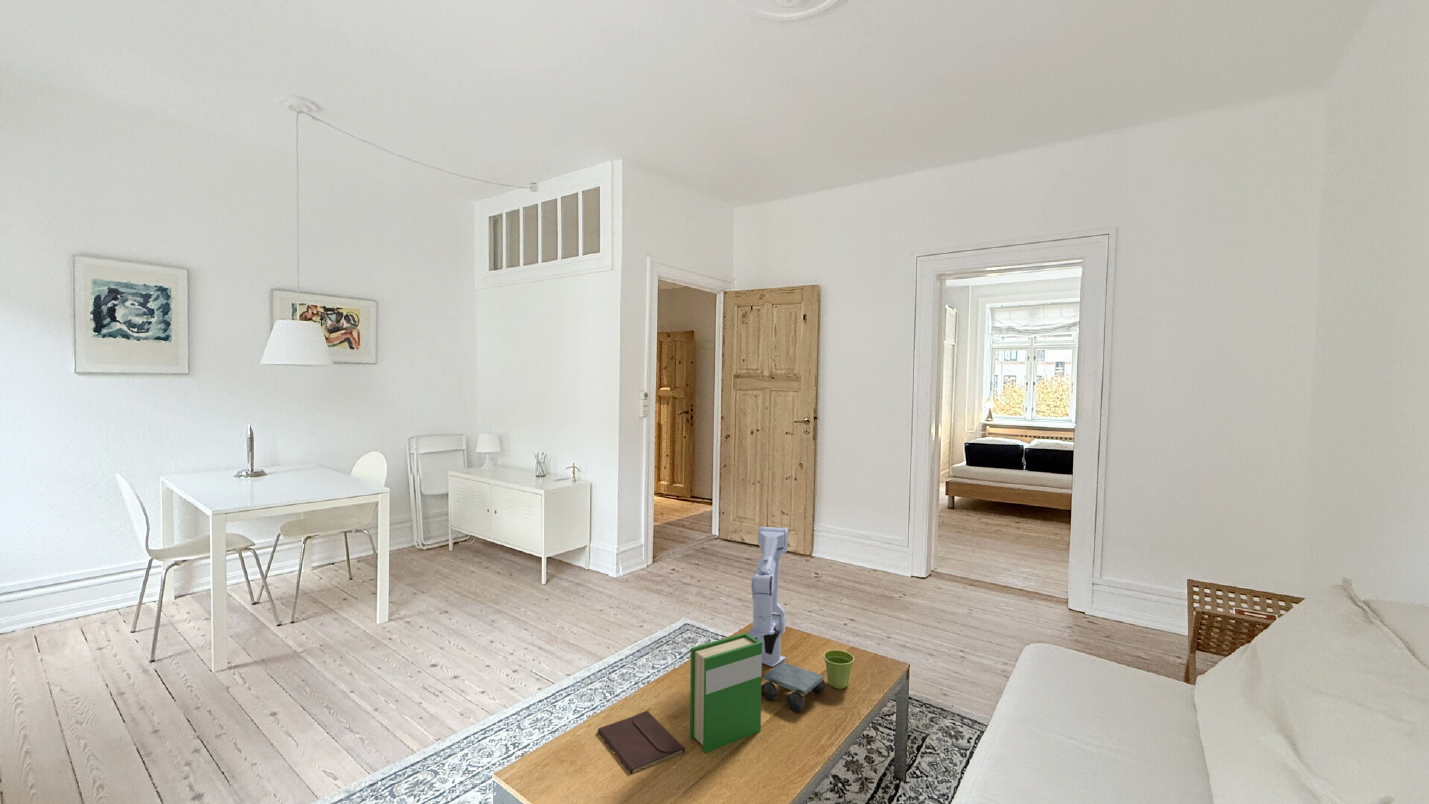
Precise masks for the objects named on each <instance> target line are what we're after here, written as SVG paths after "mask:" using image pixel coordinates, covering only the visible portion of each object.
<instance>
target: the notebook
mask: <svg viewBox="0 0 1429 804" xmlns="http://www.w3.org/2000/svg"><path fill="white" fill-rule="evenodd" d="M597 733H598V734H600V735H599V736H600V737H601V739H604V740H605V741H604V740H603V741H604V743H606V745H607V744H608V745H609V746H608V745H607V746H608V747H609V748H610V750H611V749H612V750H613V751H614V752H615V753H614V752H613V751H612V750H611V751H612V752H613V753H614V755H615V754H616V755H617V756H618V757H619V758H618V757H617V756H616V755H615V756H616V757H617V758H618V760H619V759H620V760H621V761H622V762H621V761H620V760H619V761H620V762H621V763H622V764H623V763H624V765H625V766H626V767H625V766H624V765H623V766H624V767H625V769H626V770H627V769H628V770H629V771H630V772H634V771H636V770H639V769H641V770H643V769H642V768H644V767H646V766H649V767H651V766H653V765H652V764H654V763H656V764H658V762H659V763H661V762H663V761H662V760H664V761H667V760H669V759H671V758H673V756H674V757H676V756H678V755H677V754H679V755H681V754H683V752H684V753H685V751H686V750H685V749H686V748H685V747H684V746H683V745H682V744H681V743H680V742H679V741H678V740H677V739H676V738H675V737H674V736H673V735H672V734H671V733H670V732H669V730H667V729H666V728H665V727H664V726H663V724H661V723H660V722H659V721H658V720H657V719H656V718H655V717H654V716H653V715H652V714H651V713H650V712H649V711H648V710H645V711H643V712H639V713H637V714H635V715H634V716H631V717H627V718H625V719H622V720H619V721H616V722H613V723H610V724H607V725H604V726H601V727H599V728H598V729H597ZM682 751H683V752H682ZM680 753H681V754H680ZM675 755H676V756H675ZM670 757H671V758H670ZM668 758H669V759H668ZM660 761H661V762H660ZM650 765H651V766H650ZM654 765H655V764H654ZM646 768H647V767H646ZM644 769H645V768H644ZM628 770H627V771H628ZM629 771H628V772H629ZM639 771H640V770H639ZM630 772H629V773H630ZM636 772H637V771H636ZM634 773H635V772H634Z"/></svg>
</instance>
